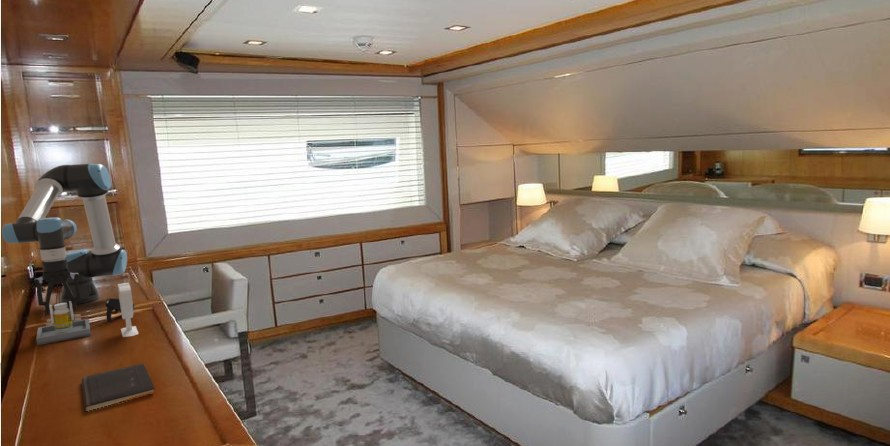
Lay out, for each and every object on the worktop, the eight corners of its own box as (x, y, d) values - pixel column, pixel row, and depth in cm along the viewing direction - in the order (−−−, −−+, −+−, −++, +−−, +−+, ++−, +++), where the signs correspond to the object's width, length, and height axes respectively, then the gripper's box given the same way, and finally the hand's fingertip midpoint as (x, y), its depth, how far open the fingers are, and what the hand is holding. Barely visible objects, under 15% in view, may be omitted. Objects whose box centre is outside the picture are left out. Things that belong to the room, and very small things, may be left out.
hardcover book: (144, 370, 165) (143, 363, 164) (155, 395, 146) (154, 388, 146) (82, 385, 155) (81, 377, 155) (85, 414, 137) (84, 406, 136)
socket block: (47, 325, 213) (47, 319, 213) (81, 319, 219) (80, 313, 219) (47, 332, 204) (46, 325, 204) (81, 325, 210) (80, 319, 210)
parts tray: (39, 333, 202) (38, 327, 202) (89, 324, 211) (88, 318, 211) (37, 345, 189) (36, 338, 189) (91, 335, 198) (90, 328, 198)
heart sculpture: (139, 335, 196) (133, 287, 194) (123, 338, 193) (117, 290, 191) (135, 324, 209) (129, 280, 207) (120, 327, 206) (114, 282, 204)
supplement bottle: (56, 328, 201) (52, 303, 200) (73, 325, 204) (70, 301, 202) (54, 332, 196) (50, 307, 195) (71, 329, 199) (68, 304, 198)
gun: (133, 325, 226) (137, 302, 230) (106, 319, 211) (112, 294, 214) (127, 326, 227) (131, 302, 230) (100, 319, 211) (105, 294, 215)
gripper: (22, 265, 188) (31, 328, 191) (84, 257, 199) (92, 317, 202) (23, 261, 194) (32, 323, 197) (83, 254, 205) (91, 313, 208)
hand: (62, 320), depth 200 cm, fingers closed on supplement bottle, 5 cm apart
